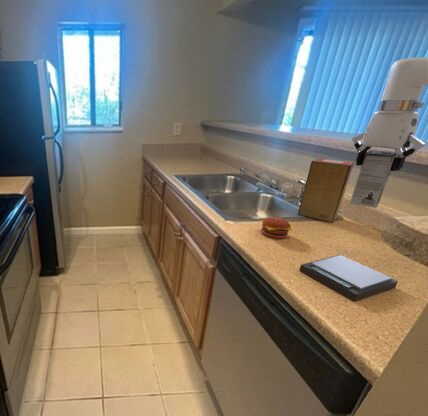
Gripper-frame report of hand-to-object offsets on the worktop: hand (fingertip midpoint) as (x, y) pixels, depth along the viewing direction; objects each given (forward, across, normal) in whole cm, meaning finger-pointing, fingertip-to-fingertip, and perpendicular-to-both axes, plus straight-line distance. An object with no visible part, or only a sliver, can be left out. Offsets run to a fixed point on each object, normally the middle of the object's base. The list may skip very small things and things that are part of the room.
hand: (376, 167), depth 84 cm
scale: (+30, -10, +17) cm, 36 cm away
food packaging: (+30, +27, -22) cm, 46 cm away
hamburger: (+30, +19, +12) cm, 37 cm away
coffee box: (+12, 0, 0) cm, 12 cm away
